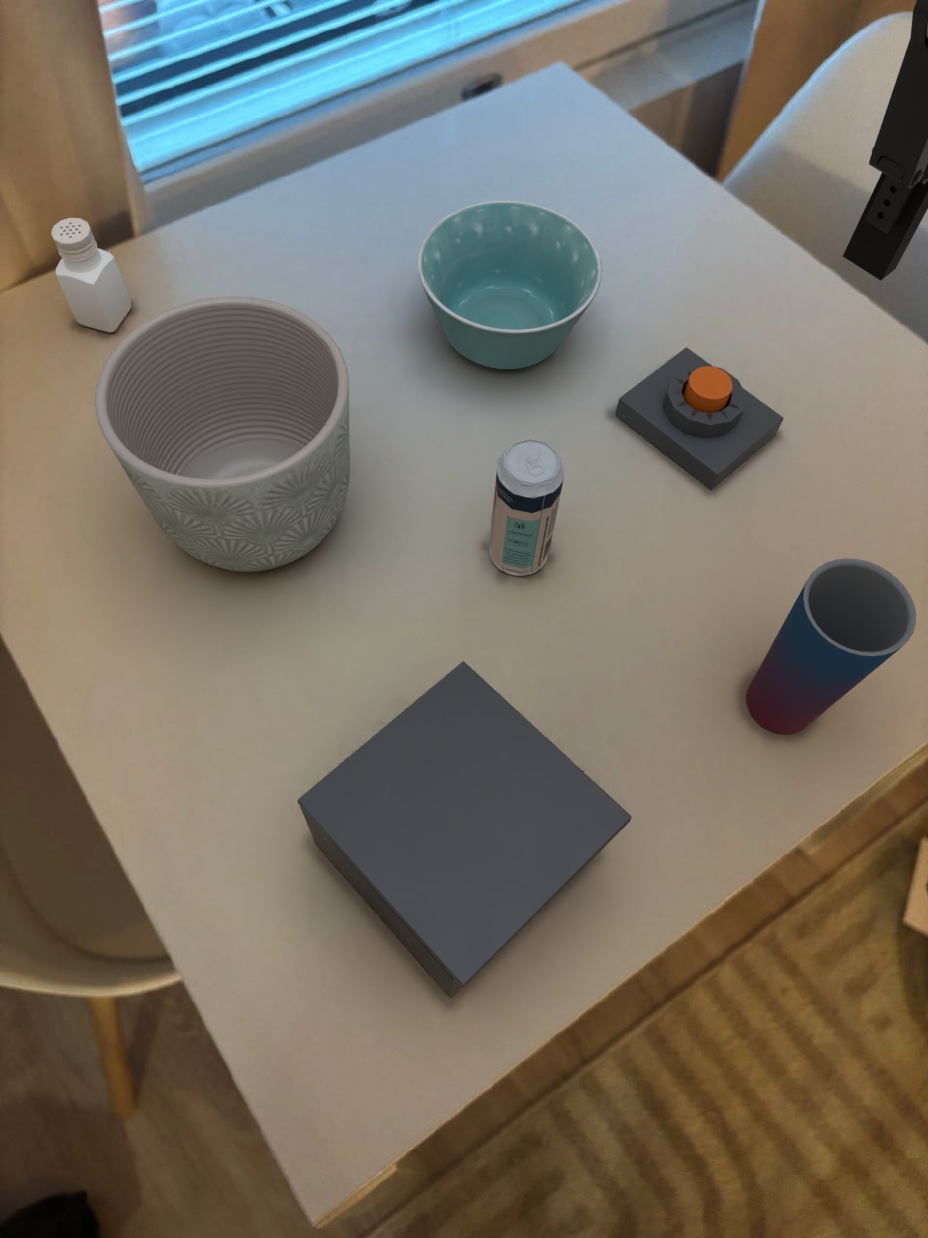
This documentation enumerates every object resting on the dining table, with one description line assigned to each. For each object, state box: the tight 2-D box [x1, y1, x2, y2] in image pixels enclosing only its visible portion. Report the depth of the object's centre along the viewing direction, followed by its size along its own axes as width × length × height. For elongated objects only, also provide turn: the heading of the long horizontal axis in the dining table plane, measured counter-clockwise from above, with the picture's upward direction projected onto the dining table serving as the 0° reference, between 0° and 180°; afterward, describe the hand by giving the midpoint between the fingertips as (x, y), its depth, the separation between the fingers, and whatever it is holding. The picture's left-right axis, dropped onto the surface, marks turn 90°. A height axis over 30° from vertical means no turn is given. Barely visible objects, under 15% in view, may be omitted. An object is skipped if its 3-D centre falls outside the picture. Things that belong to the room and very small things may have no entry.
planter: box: [94, 296, 351, 572], centre depth 70 cm, size 17×17×15 cm
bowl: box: [417, 200, 603, 370], centre depth 84 cm, size 16×16×8 cm
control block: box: [614, 346, 784, 491], centre depth 81 cm, size 11×9×4 cm
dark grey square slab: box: [297, 660, 633, 989], centre depth 56 cm, size 14×14×1 cm
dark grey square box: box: [299, 805, 462, 999], centre depth 61 cm, size 14×14×9 cm
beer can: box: [488, 437, 566, 577], centre depth 71 cm, size 5×5×12 cm
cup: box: [745, 557, 917, 736], centre depth 64 cm, size 7×7×15 cm
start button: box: [684, 366, 732, 413], centre depth 79 cm, size 4×4×2 cm
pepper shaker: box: [50, 217, 132, 333], centre depth 83 cm, size 4×4×10 cm
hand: (869, 262), depth 55 cm, fingers closed
